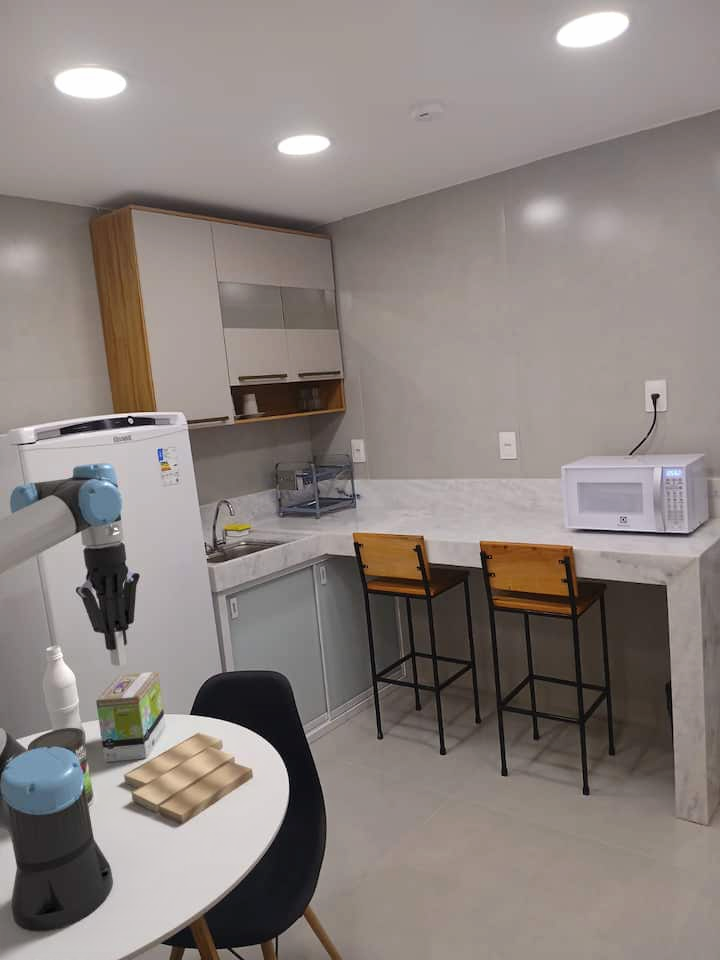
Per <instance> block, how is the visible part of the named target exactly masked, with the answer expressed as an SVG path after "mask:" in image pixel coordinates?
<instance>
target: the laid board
mask: <svg viewBox="0 0 720 960" xmlns="http://www.w3.org/2000/svg"><path fill="white" fill-rule="evenodd" d="M253 778H254V774H253V769H252V768H251V767H247V766H245V765H242V764H238V763H236V762H235V763H233V762H230V761H228V762H226V763H224V764H223V765H221V766H220V767H218V768H216V769H215V770H213V771H212V772H210V773H208V774H207V775H205V776H204V777H202V778H200V779H199V780H197V781H196V782H194V783H192V784H191V785H189V786H188V787H186V788H185V789H183V790H181V791H180V792H178V793H177V794H175V795H173V796H172V797H170V798H169V799H167V800H165V801H164V802H162V803H161V804H159V805H158V808H159V813H158V814H159V815H160V816H162V817H165V818H167V819H170V820H173V821H174V822H177V823H178V824H182V825H184V824H185V823H187V822H189V821H190V820H192V819H193V818H194V817H196V816H198V815H199V814H200V813H202V812H204V811H205V810H206V809H207V808H210V807H211V806H212V805H214V804H216V802H218V801H220V800H221V799H222V798H224V797H226V796H227V795H228V794H230V793H231V792H233V791H234V790H236V789H238V788H239V787H240V786H242V785H243V784H245V783H247V782H248V781H249V780H251V779H253Z"/></svg>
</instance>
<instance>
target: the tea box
mask: <svg viewBox="0 0 720 960" xmlns="http://www.w3.org/2000/svg"><path fill="white" fill-rule="evenodd" d="M160 685H161V684H160V678H159V673H158V671H149V672H141V673H128V674H120V675H118V676H117V677H116V678H115V679H114V680H113V682H111V683H110V685H109V686H108V687H107V688H106V689H105V690H104V692H102V693H101V695H100V696H98V698H97V699H96V700H95V701H96V709H97V715H98V716H97V718H98V722H99V723H98V724H99V731H100V738H101V743H102V752H103V757H104V763H105V762H106V763H107V762H108V763H109V762H121V761H122V762H123V761H131V760H134V761H135V760H141V759H147V757H148V755H150V753H151V751H152V749H153V748H154V747H155V745H156V743H157V741H158V740H159V739H160V737H161V736H162V734H163V732H165V729H166V728H167V726H166V720H165V719H166V718H165V714H164V707H163V699H162V692H161V691H162V690H161V686H160Z"/></svg>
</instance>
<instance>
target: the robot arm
mask: <svg viewBox="0 0 720 960" xmlns="http://www.w3.org/2000/svg"><path fill="white" fill-rule="evenodd" d="M9 497H10V498H9V505H10V512H11V513H10V514H8V515H5V516H4V517H2V518H0V576H1V575H3V574H4V573H7V572H8V571H11V570H12V569H14V568H15V567H18V566H20V565H21V564H23V563H25V562H26V561H29V560H31V559H33V558H34V557H36V556H38V555H39V554H41V553H43V552H45V551H47V550H49V549H51V548H53V547H54V546H57V545H58V544H61V542H64V541H65V540H67V539H70V538H72V537H73V536H75V535H76V534H79V533H80V534H81V535H80V536H81V543H82V545H83V546H85V548H83V550H82V551H83V557H84V565H85V568H86V571H87V573H86V576H85V580H86V581H85V582H84V583H83V584H82V585H81V586H77V587H76V588H75V593H77V595H78V596H79V597H80V598H81V600H82V602H83V605H84V607H85V610H86V613H87V617H88V618H89V621H90V624H91V627H92V629H93V631H94V633H99V634H103V635H104V641H105V648H106V650H108V651H109V655H110V663H111V665H112V666H116V667H122V666H124V665H126V664H127V656H126V649H125V646H127V643H128V640H127V632H126V631H129V628H130V626H129V625H132V624H133V623H134V620H135V610H136V596H137V595H136V594H137V585H138V583H139V580H140V577H141V576H140V574H139V573H136V572H132V571H130V570H129V567H128V565H127V564H126V561H127V554H126V552H127V551H126V545H125V543H124V542H122V541H123V540H124V530H123V522H122V515H121V512H122V509H123V497H122V495H121V492H120V490H119V484H118V480H117V474H116V470H115V467H114V465H112V464H111V463H109V462H105V463H104V462H102V463H91V464H84V465H83V464H82V465H77V466H75V467H74V468H73V470H72V477H69V478H63V479H56V480H49V481H48V480H47V481H39V482H30V483H27V484H22V485H18V486H16V487H14V489H13V490H12V491H11V494H10V496H9ZM94 591H95V594H93V593H94ZM95 595H96V596H95ZM96 598H97V599H96ZM97 600H98V602H97ZM89 807H90V806H89ZM89 807H88V801H87V796H86V790H85V779H84V774H83V770H82V769H81V765H80V762H79V759H78V758H77V756H76V755H75V754H74V753H73V752H71V751H70V750H67V749H65V748H61V747H52V748H49V749H47V747H43V748H37V749H33V750H30V751H28V748H25V746H23V745H22V744H21V743H20V742H19V741H17V740H16V739H15V738H14V737H13V736H11V734H9V733H8V732H7V731H5V730H4V728H2V727H0V828H2V829H3V830H5V831H7V832H8V833H9V835H10V838H11V842H12V844H11V845H12V848H13V853H14V858H15V864H16V871H15V878H14V883H13V890H12V894H11V895H12V896H11V900H10V901H11V902H10V903H11V910H12V911H11V912H12V916H13V917H12V918H13V920H14V921H13V922H15V924H16V926H18V927H19V928H21V929H23V930H25V931H31V932H46V931H50V930H56V929H59V928H62V927H65V926H68V925H70V924H73V923H75V922H77V921H80V920H81V919H83V918H84V917H86V916H88V915H89V914H90V913H91V914H92V912H94V911H95V910H97V909H98V908H99V907H100V906H101V905H102V904H103V902H104V901H105V900H106V899H107V897H108V896H109V895H110V893H111V891H112V890H113V886H114V885H113V884H114V879H113V874H112V873H113V872H112V869H111V865H110V863H109V861H108V859H107V858H106V856H105V855H104V852H103V851H102V850H101V848H100V847H99V845H98V843H97V841H96V840H95V838H94V837H95V836H94V833H93V832H94V831H93V826H92V821H91V820H92V819H91V815H90V809H89Z"/></svg>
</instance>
